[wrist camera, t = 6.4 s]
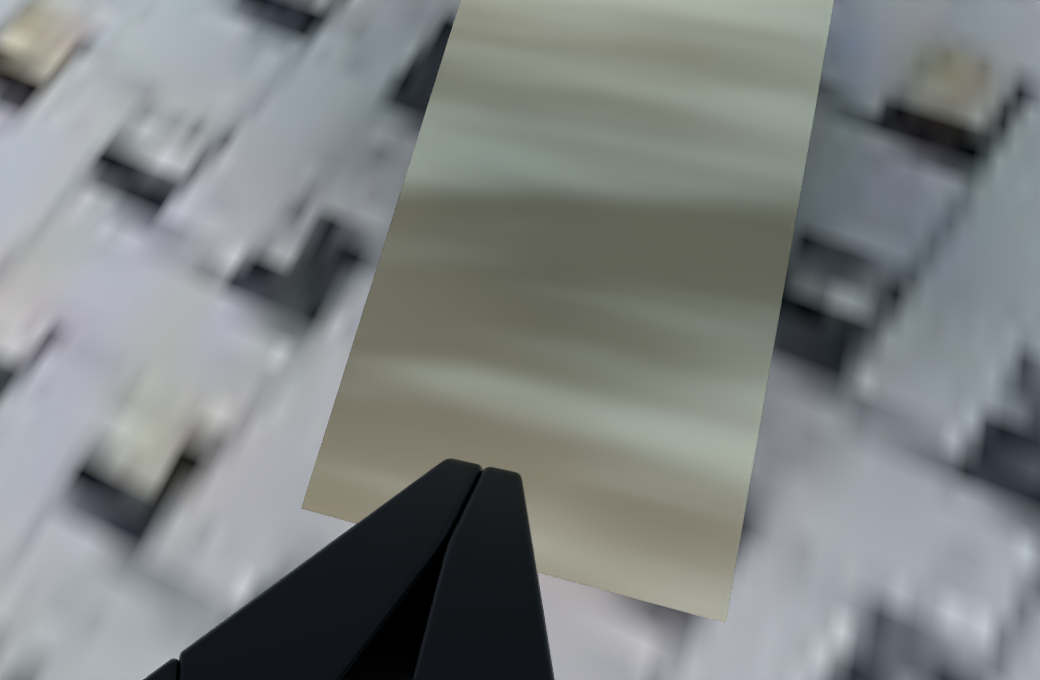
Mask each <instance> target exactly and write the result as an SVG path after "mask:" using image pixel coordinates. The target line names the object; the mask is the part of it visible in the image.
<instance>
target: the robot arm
mask: <svg viewBox="0 0 1040 680" xmlns="http://www.w3.org/2000/svg"><path fill="white" fill-rule="evenodd" d="M143 680H555V679H554V673H553V667H552V661H551V655H550V648H549V642H548V636H547V630H546V624H545V617H544V611H543V605H542V599H541V592H540V586H539V580H538V574H537V568H536V561H535V555H534V549H533V543H532V537H531V530H530V524H529V518H528V512H527V505H526V499H525V493H524V487H523V481H522V477H521V475H520V474H519V473H517V472H514V471H509V470H505V469H500V468H495V467H486V468H485V469H484V470H483V468H482V467H481V466H480V465H479V464H476V463H472V462H467V461H462V460H458V459H453V458H448V459H445V460H443V461H442V462H440V463H439V464H438V465H436V466H435V467H433V468H432V469H431V470H429V471H428V472H427V473H425V474H424V475H423V476H421V477H420V478H418V479H417V480H416V481H414V482H413V483H412V484H410V485H409V486H408V487H406V488H405V489H403V490H402V491H401V492H399V493H398V494H397V495H395V496H394V497H393V498H391V499H390V500H388V501H387V502H386V503H384V504H383V505H382V506H380V507H379V508H377V509H376V510H375V511H373V512H372V513H371V514H369V515H368V516H367V517H365V518H364V519H362V520H361V521H360V522H358V523H357V524H356V525H354V526H353V527H352V528H350V529H349V530H347V531H346V532H345V533H343V534H342V535H341V536H339V537H338V538H337V539H335V540H334V541H332V542H331V543H330V544H328V545H327V546H326V547H324V548H323V549H322V550H320V551H319V552H317V553H316V554H315V555H313V556H312V557H311V558H309V559H308V560H306V561H305V562H304V563H302V564H301V565H300V566H298V567H297V568H296V569H294V570H293V571H291V572H290V573H289V574H287V575H286V576H285V577H283V578H282V579H281V580H279V581H278V582H276V583H275V584H274V585H272V586H271V587H270V588H268V589H267V590H266V591H264V592H263V593H261V594H260V595H259V596H257V597H256V598H255V599H253V600H252V601H251V602H249V603H248V604H246V605H245V606H244V607H242V608H241V609H240V610H238V611H237V612H235V613H234V614H233V615H231V616H230V617H229V618H227V619H226V620H225V621H223V622H222V623H220V624H219V625H218V626H216V627H215V628H214V629H212V630H211V631H210V632H208V633H207V634H205V635H204V636H203V637H201V638H200V639H199V640H197V641H196V642H195V643H193V644H192V645H190V646H189V647H188V648H186V649H185V650H184V651H182V652H181V654H180V658H179V660H177V659H171V660H169V661H168V662H167V663H165V664H164V665H163V666H161V667H160V668H158V669H157V670H156V671H154V672H153V673H152V674H150V675H149V676H148V677H146V678H145V679H143Z"/></svg>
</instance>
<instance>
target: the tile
mask: <svg viewBox="0 0 1040 680" xmlns="http://www.w3.org/2000/svg"><path fill="white" fill-rule="evenodd" d="M833 4H834V0H461V1H460V4H459V7H458V11H457V14H456V17H455V20H454V23H453V27H452V30H451V33H450V36H449V39H448V42H447V46H446V49H445V52H444V55H443V58H442V62H441V65H440V68H439V71H438V74H437V78H436V81H435V84H434V87H433V90H432V93H431V97H430V100H429V103H428V106H427V109H426V113H425V116H424V119H423V122H422V125H421V129H420V132H419V135H418V138H417V141H416V144H415V148H414V151H413V154H412V157H411V160H410V164H409V167H408V170H407V173H406V176H405V180H404V183H403V186H402V189H401V192H400V195H399V199H398V202H397V205H396V208H395V211H394V215H393V218H392V221H391V224H390V227H389V231H388V234H387V237H386V240H385V243H384V246H383V250H382V253H381V256H380V259H379V262H378V266H377V269H376V272H375V275H374V278H373V282H372V285H371V288H370V291H369V294H368V297H367V301H366V304H365V307H364V310H363V313H362V317H361V320H360V323H359V326H358V329H357V332H356V336H355V339H354V342H353V345H352V348H351V352H350V355H349V358H348V361H347V364H346V368H345V371H344V374H343V377H342V380H341V383H340V387H339V390H338V393H337V396H336V399H335V403H334V406H333V409H332V412H331V415H330V419H329V422H328V425H327V428H326V431H325V434H324V438H323V441H322V444H321V447H320V450H319V454H318V457H317V460H316V463H315V466H314V470H313V473H312V476H311V479H310V482H309V485H308V489H307V492H306V495H305V498H304V501H303V505H302V508H301V509H305V510H309V511H312V512H316V513H320V514H323V515H327V516H331V517H334V518H338V519H342V520H346V521H349V522H353V523H358V522H360V521H361V520H362V519H364V518H365V517H367V516H368V515H369V514H371V513H372V512H373V511H375V510H376V509H377V508H379V507H380V506H382V505H383V504H384V503H386V502H387V501H388V500H390V499H391V498H393V497H394V496H395V495H397V494H398V493H399V492H401V491H402V490H403V489H405V488H406V487H408V486H409V485H410V484H412V483H413V482H414V481H416V480H417V479H418V478H420V477H421V476H423V475H424V474H425V473H427V472H428V471H429V470H431V469H432V468H433V467H435V466H436V465H438V464H439V463H440V462H442V461H443V460H445V459H448V458H453V459H458V460H462V461H467V462H472V463H476V464H479V465H480V466H481V467H482V468H483V470H484V469H485V468H486V467H495V468H500V469H505V470H509V471H514V472H517V473H519V474H520V475H521V477H522V481H523V487H524V493H525V499H526V505H527V512H528V518H529V524H530V530H531V537H532V543H533V549H534V555H535V561H536V568H537V572H538V573H542V574H546V575H549V576H553V577H557V578H561V579H564V580H568V581H572V582H575V583H579V584H583V585H587V586H590V587H594V588H598V589H601V590H605V591H609V592H612V593H616V594H620V595H624V596H627V597H631V598H635V599H638V600H642V601H646V602H650V603H653V604H657V605H661V606H664V607H668V608H672V609H675V610H679V611H683V612H687V613H690V614H694V615H698V616H701V617H705V618H709V619H713V620H716V621H720V622H724V623H726V618H727V612H728V606H729V600H730V595H731V589H732V583H733V578H734V572H735V566H736V560H737V555H738V549H739V543H740V537H741V532H742V526H743V520H744V514H745V509H746V503H747V497H748V491H749V486H750V480H751V474H752V469H753V463H754V457H755V451H756V446H757V440H758V434H759V428H760V423H761V417H762V411H763V405H764V400H765V394H766V388H767V382H768V377H769V371H770V365H771V360H772V354H773V348H774V342H775V337H776V331H777V325H778V319H779V314H780V308H781V302H782V296H783V291H784V285H785V279H786V274H787V268H788V262H789V256H790V251H791V245H792V239H793V233H794V228H795V222H796V216H797V210H798V205H799V199H800V193H801V187H802V182H803V176H804V170H805V165H806V159H807V153H808V147H809V142H810V136H811V130H812V124H813V119H814V113H815V107H816V101H817V96H818V90H819V84H820V78H821V73H822V67H823V61H824V56H825V50H826V44H827V38H828V33H829V27H830V21H831V15H832V10H833Z"/></svg>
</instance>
